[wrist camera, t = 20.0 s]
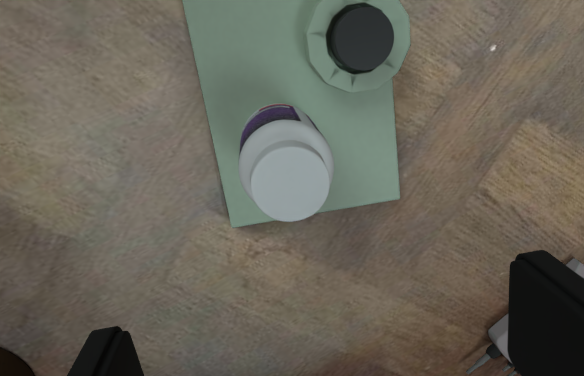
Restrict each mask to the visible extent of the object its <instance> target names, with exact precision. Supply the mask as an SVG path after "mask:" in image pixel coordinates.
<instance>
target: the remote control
mask: <svg viewBox="0 0 584 376" xmlns="http://www.w3.org/2000/svg"><path fill="white" fill-rule="evenodd" d="M566 266H567V267H569V268H570V269H571V270H573V271H574V272H576V273H577V274H578V275H580V276H581V277H583V278H584V265H583V264H582V263H581V262H579V261H578V260H576V259H575V258H573V259H572V260H571V261H570V262H569V263H568V264H566ZM488 335H489V337H490V339H491V340H492V342H493V344H492V345H490V346H489V347H488V348H487V350H486V354H485V355H483V356H482V357H481V358H480V359H479V360H477V361H476V362H475V364H474V365H473V366H472V367H470V368H469V369H468V370H467V371H466V373H467V374H470V373H471V372H472V371H473V370H475V369H476V368H477V367H480V366H481V365H483V364H484V363H485V362H486V361H488V360H489V359H490V358H492V359H494V358H497V357H498V356H499V355H501V354H503V355H504V356H505V357H506V358H507V359H508V360H509V362H508V365H507V366H506V367H504V368H503V369H502V370H503V371H504V372H505V371H506V370H508V369H509V368H510V367H511V368H512V367H514V365H513V364H512V362H511V360H510V358H509V355H508V350H507V345H508V314H507V315H505V316H504V317H503V318H502V319H501V320H499V321H498V322H497V323H496V324H495V325H493V326H492V327H491V328H490V329H489V330H488ZM516 373H518V374H519V372H518V371H517V369H516V368H515V369H514V371H513V372H512V373H510V374H509V375H508V376H514V375H515V374H516Z"/></svg>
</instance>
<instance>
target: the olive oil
mask: <svg viewBox="0 0 584 376" xmlns="http://www.w3.org/2000/svg"><path fill="white" fill-rule="evenodd" d="M0 376H34V374H33V373H32V371H31V370H30V369H29V367H28V366H27V365H26V364H25V363H24V362H23V361H22V360H20V359H19V358H18V357H16V356H15V355H13V354H11V353H10V352H8V351H6V350H3V349H1V348H0Z"/></svg>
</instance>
